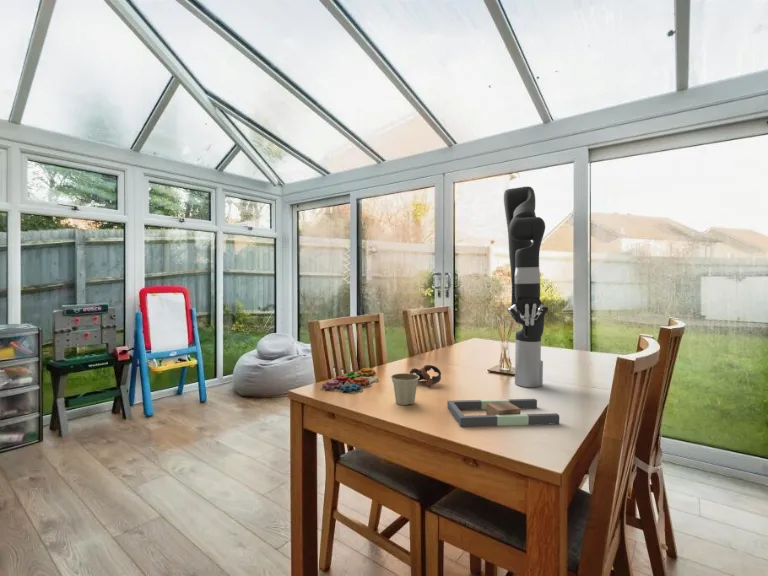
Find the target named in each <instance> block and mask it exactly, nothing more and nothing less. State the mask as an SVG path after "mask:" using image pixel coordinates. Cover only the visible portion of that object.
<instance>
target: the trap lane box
mask: <svg viewBox="0 0 768 576" xmlns="http://www.w3.org/2000/svg"><path fill="white" fill-rule="evenodd" d="M504 401H508V402H510V403H511V404H513V405H515V406H517V407H518V408H520V409H537V408H538V400H537V399H535V398H516V399H514V398H513V399H512V398H509V399H507V398H506V399H501V398H500V399H475V400H474V399H470V400H466V399H465V400H464V399H463V400H457V399H456V400H447V407H446V409H447V410H448V411H449V413H450V414H451V416H452V417H453V419H454V420H455V421H456V423H457V424H458V425H459V426H460V428H463V427H464V428H465V427H495V426H501V427H502V426H529V425H530V426H531V425H534V424H540V425H550V424H549V423H559V424H560V414H558V413H554V412H553V413H520V414H513V415H486V414H484V415H480V414H478V415H477V414H476V415H464V414H463V412H462V411H469V410H470V411H473V410H486V403H491V402H504ZM534 426H535V425H534Z"/></svg>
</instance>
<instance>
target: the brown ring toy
mask: <svg viewBox="0 0 768 576" xmlns="http://www.w3.org/2000/svg"><path fill="white" fill-rule="evenodd" d="M431 370H433V372H434V373H437V374H438V375H436V376H435V375H433V376H430V374H429V373H427V372H429V371H431ZM409 373H410V374H416V375H418V376H419V379H418V382H419V381H420V382H421V381H426V382H427V383H426V385H425V386H427V387H428V388H430V387H433V386H432V385H436V384H438V383H439V382H440V381H441V380H442V373H441V370H440V369H439V368H438V367H437V366H435V365H432V364H426V365H424V366H423V367H421V368H420V369H417V368H415V367H414V368H412V369H410V371H409Z"/></svg>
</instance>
